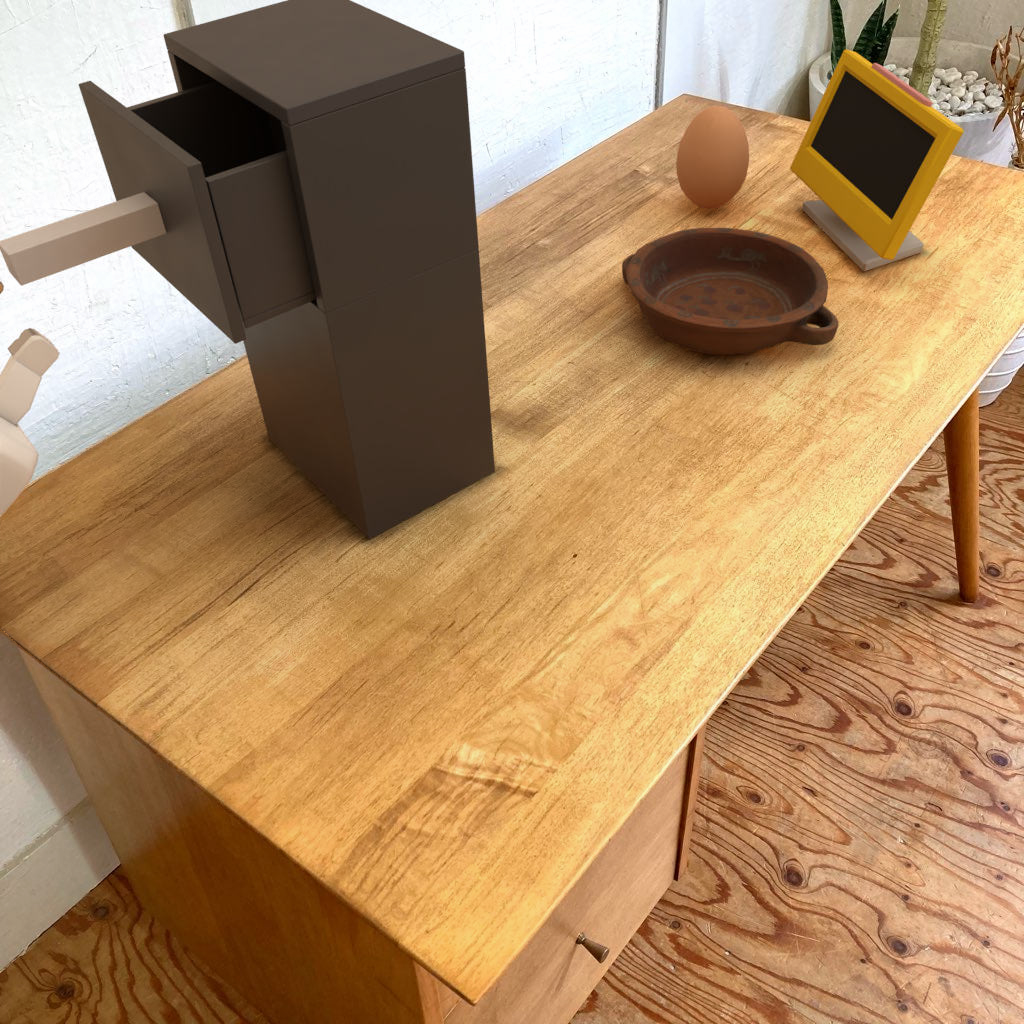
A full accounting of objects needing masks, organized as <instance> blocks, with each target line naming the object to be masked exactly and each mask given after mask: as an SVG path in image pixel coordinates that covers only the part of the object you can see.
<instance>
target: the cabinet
mask: <svg viewBox="0 0 1024 1024" xmlns="http://www.w3.org/2000/svg"><path fill="white" fill-rule="evenodd" d="M163 39H164V43H165V47H166V51H167V55H168V59H169V62H170V66H171V70H172V74H173V78H174V82H175V84H176V89H177V92H180V91H183V90H186V89H190V88H193V87H196V86H199V85H203V84H206V83H209V82H213V81H216V80H217V81H218V82H220V83H221V84H223V85H225V86H226V87H228V88H229V89H231V90H233V91H234V92H236V93H237V94H239V95H241V96H242V97H244V98H245V99H247V100H249V101H250V102H252V103H253V104H255V105H257V106H258V107H260V108H261V109H263V110H265V111H266V112H268V113H270V114H271V115H273V116H274V117H276V118H278V119H279V120H281V121H282V122H281V124H282V129H283V134H284V139H285V144H286V149H287V154H288V159H289V164H290V169H291V174H292V179H293V184H294V189H295V194H296V199H297V204H298V209H299V214H300V219H301V224H302V229H303V234H304V239H305V244H306V250H307V255H308V260H309V265H310V270H311V275H312V280H313V285H314V290H315V295H316V300H313V301H311V302H309V303H306V304H304V305H301V306H299V307H297V308H294V309H292V310H289V311H287V312H285V313H282V314H280V315H278V316H275V317H273V318H270V319H268V320H266V321H263V322H261V323H258V324H256V325H254V326H251V327H249V328H244V331H245V334H246V338H247V339H246V340H243V341H242V342H243V346H244V350H245V353H246V357H247V360H248V361H247V362H248V364H249V368H250V372H251V376H252V380H253V384H254V387H255V391H256V395H257V399H258V403H259V407H260V412H261V414H262V417H263V422H264V427H265V429H266V434H267V437H268V440H270V441H271V442H272V443H273V444H274V445H275V446H276V448H278V449H279V450H280V451H281V452H282V453H283V454H284V455H285V456H286V457H287V458H288V459H289V461H291V462H292V464H294V465H295V467H297V468H298V470H299V471H301V473H302V474H304V476H305V477H306V478H307V479H308V480H309V481H310V482H312V484H314V485H315V487H316V488H318V490H320V492H322V494H323V495H324V496H325V497H326V498H327V499H328V500H330V502H331V503H333V505H334V506H336V508H337V509H338V510H339V511H340V512H341V513H342V514H343V515H344V516H345V517H346V518H347V519H348V520H349V521H350V522H351V523H352V524H353V525H354V526H355V527H356V528H357V529H358V530H359V531H360V532H361V533H362V534H363V535H364V536H365V537H366V538H367V539H368V540H372V539H373V538H375V537H377V536H379V535H380V534H383V533H384V532H386V531H388V530H390V529H392V528H394V527H396V526H397V525H399V524H401V523H402V522H404V521H406V520H408V519H410V518H412V517H415V515H417V514H419V513H421V512H423V511H425V510H427V509H429V508H431V507H433V506H434V505H435V504H438V503H439V502H442V501H443V500H445V499H447V498H448V497H449V498H450V497H451V496H453V495H454V494H457V493H458V492H460V491H461V490H464V489H465V488H467V487H469V486H471V485H473V484H475V483H476V482H478V481H480V480H482V479H484V478H485V477H488V476H489V475H491V474H493V473H495V472H496V466H495V465H496V464H495V454H494V453H495V452H494V437H493V426H492V411H491V398H490V396H491V395H490V385H489V384H490V383H489V371H488V357H487V346H486V345H487V342H486V341H487V340H486V329H485V316H484V302H483V301H484V300H483V288H482V273H481V260H480V259H481V258H480V249H479V248H480V247H479V246H480V245H479V232H478V219H477V207H476V191H475V178H474V177H475V176H474V166H473V165H474V163H473V153H472V152H473V150H472V139H471V138H472V137H471V122H470V110H469V96H468V83H467V82H468V81H467V71H466V69H467V68H466V59H465V58H466V56H465V51H464V50H462V49H460V48H458V47H456V46H453V45H451V44H449V43H447V42H445V41H442V40H440V39H438V38H436V37H433V36H432V35H429V34H427V33H425V32H422V31H420V30H417V29H415V28H413V27H411V26H409V25H406V24H404V23H402V22H400V21H398V20H395V19H393V18H391V17H389V16H386V15H384V14H382V13H380V12H378V11H375V10H373V9H370V8H368V7H366V6H364V5H362V4H359V3H357V2H355V1H353V0H284V1H279V2H276V3H272V4H268V5H265V6H261V7H258V8H254V9H250V10H247V11H243V12H239V13H236V14H231V15H228V16H224V17H221V18H218V19H214V20H211V21H207V22H203V23H200V24H199V23H198V24H196V25H192V26H189V27H185V28H181V29H178V30H174V31H170V32H166V33H164V34H163Z"/></svg>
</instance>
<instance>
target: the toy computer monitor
mask: <svg viewBox="0 0 1024 1024" xmlns="http://www.w3.org/2000/svg"><path fill="white" fill-rule="evenodd" d="M933 104H934V102H933V101H932V100H930V99H929V97H926V96H925V95H923V94H922V93H921V92H919V91H918V90H916V89H915V88H914V87H912V86H911V85H909V84H908V83H907V82H905V81H904V80H903V79H901V78H900V77H899V76H896V75H895V74H894V73H892V72H891V71H890V70H889V69H887V68H886V67H884V66H883V65H881V64H879V63H876V62H873V63H872V62H870V61H869V60H868V59H866V58H864V56H862V55H860V53H858V52H856V51H853V50H850V49H847V48H846V49H844V50H843V51H842V53H841V56H840V58H839V60H838V62H837V64H836V67H835V69H834V71H833V73H832V75H831V78H830V80H829V81H828V83H827V86H826V88H825V90H824V93H823V94H822V97H821V99H820V101H819V104H818V106H817V108H816V110H815V112H814V114H813V116H812V118H811V121H810V123H809V125H808V127H807V130H806V132H805V135H804V136H803V138H802V141H801V143H800V145H799V147H798V150H797V151H796V153H795V156H794V158H793V160H792V163H791V164H790V167H789V169H790V171H791V172H792V173H793V174H794V175H795V176H797V178H798V179H799V180H800V181H802V183H803V184H805V186H806V187H807V188H808V189H810V191H811V192H812V193H814V194H815V195H816V196H817V197H818V198H819V200H817V199H815V200H805V201H803V202H802V208H801V210H802V211H803V212H804V213H805V214H806V215H807V216H808V217H809V218H810V219H811V220H812V221H813V222H814V223H815V224H816V226H818V227H819V229H821V231H823V232H824V233H825V234H826V235H827V236H828V237H829V238H830V239H831V240H832V241H833V243H835V245H837V246H838V247H839V248H840V249H841V250H842V251H843V253H845V255H846V256H847V257H849V259H850V260H851V261H853V263H854V264H855V265H856V266H857V267H859V269H860V270H861V271H862V272H867V271H870V270H873V269H876V268H879V267H882V266H885V265H888V264H890V263H894V262H897V261H900V260H903V259H906V258H908V257H912V256H915V255H918V254H921V253H922V252H923V249H924V242H923V241H922V240H920V238H918V237H917V236H916V235H915V234H914V233H913V232H911V229H912V227H913V225H914V223H915V222H916V220H917V218H918V216H919V214H920V212H921V210H922V209H923V207H924V205H925V203H926V202H927V200H928V197H929V196H930V194H931V193H932V190H933V189H934V187H935V185H936V183H937V182H938V179H939V178H940V176H941V174H942V172H943V171H944V169H945V167H946V165H947V163H948V162H949V159H950V158H951V156H952V154H953V153H954V150H955V149H956V148H957V145H958V143H959V141H960V140H961V138H962V137H963V134H964V129H963V128H962V127H961V126H960V125H958V124H957V123H955V122H954V121H952V120H951V119H950V118H948V117H947V116H945V115H944V114H943V113H941V112H940V111H938V110H937V109H935V108H934V107H933Z"/></svg>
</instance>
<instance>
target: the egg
mask: <svg viewBox="0 0 1024 1024" xmlns="http://www.w3.org/2000/svg"><path fill="white" fill-rule="evenodd" d="M675 165H676V167H675V168H676V176H677V181H678V183H679V186H680V189H681V191H682V192H683V194H684V195H685V197H686V198H687V199H688V200H689V201H690V202H691V203H692V204H694V205H695V206H697V207H699V208H703V209H707V210H709V209H717V208H720V207H723V206H724V205H726V204H728V202H730V201H731V200H732V199H733V198H735V196H736V195H737V194H738V193H739V191H740V190H741V188H742V187H743V185H744V183H745V181H746V179H747V175H748V171H749V170H748V169H749V165H750V146H749V140H748V136H747V133H746V130H745V128H744V126H743V124H742V122H741V120H740V118H739V117H738V115H736V114H735V112H733V111H732V110H730V109H729V108H727V107H725V106H721V105H714V106H710V107H707V108H705V109H703V110H702V111H700V112H698V114H696V116H695V117H693V118H692V120H691V121H690V123H689V124H688V125H687V127H686V129H685V131H684V133H683V135H682V138H681V139H680V141H679V146H678V150H677V154H676V161H675Z"/></svg>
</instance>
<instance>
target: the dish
mask: <svg viewBox="0 0 1024 1024" xmlns="http://www.w3.org/2000/svg"><path fill="white" fill-rule="evenodd" d="M621 274H622V279H623V282H624V284H625V285H626V286H628V289H629V291H630V293H631V294H632V296H633V297H634V298H635V299H636V300H637V303H638V306H639V308H640V311H641V313H642V316H643V317H644V319H645V320H646V322H647V324H648V325H649V326H650V328H651V329H652V330H653V331H654V332H655V333H656V334H657V335H659V336H660V337H661V338H663V339H664V340H666V341H668V342H670V343H672V344H674V345H675V346H677V347H680V348H683V349H686V350H690V351H693V352H698V353H703V354H708V355H722V356H723V355H725V356H726V355H735V354H736V355H737V354H745V353H746V354H748V353H752V352H753V353H754V352H758V351H762V350H766V349H767V348H768V349H769V348H772V347H774V346H778V345H781V344H783V343H795V344H796V343H797V344H803V345H809V346H823V345H827V344H829V343H831V342H832V341H833V340H834V339H835V336H836V334H837V331H838V329H839V320H838V318H837V315H836V314H834V313H833V312H832V311H831V310H830V309H829V308H827V307H826V306H825V305H824V304H825V303H827V298H828V292H829V291H828V290H829V284H828V283H829V282H828V278H827V275H826V273H825V270H824V268H823V267H822V265H820V263H819V262H818V261H817V259H816V258H814V257H813V255H811V253H809V252H808V251H806V250H805V249H803V248H802V247H800V246H799V245H797V244H794V243H792V242H791V241H788V240H785V239H783V238H780V237H777V236H774V235H771V234H767V233H763V232H759V231H755V230H748V229H742V228H736V227H735V228H734V227H696V228H695V227H694V228H689V229H682V230H679V231H675V232H672V233H669V234H667V235H663V236H660V237H658V238H657V239H654V240H652V241H650V242H648V243H645V244H644V245H642V246H641V247H640V248H638V249H637V250H636V252H634V253H632V254H630V255H628V256H627V257H626V258H625V259H624V260H623V261H622V264H621ZM810 325H813V326H810ZM814 326H816V327H814Z"/></svg>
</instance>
